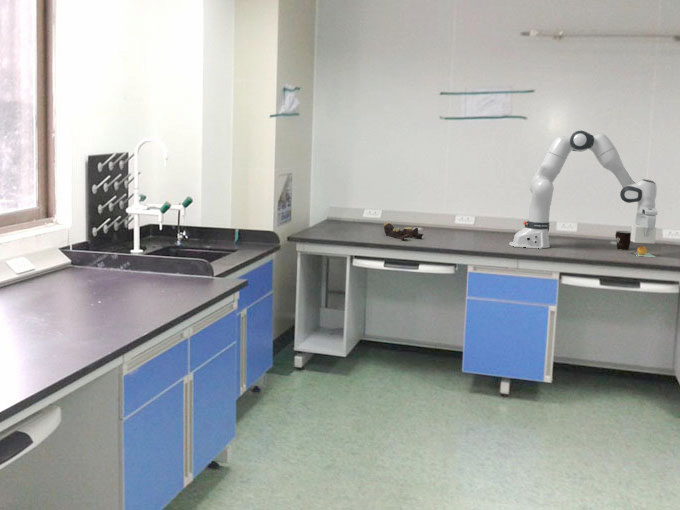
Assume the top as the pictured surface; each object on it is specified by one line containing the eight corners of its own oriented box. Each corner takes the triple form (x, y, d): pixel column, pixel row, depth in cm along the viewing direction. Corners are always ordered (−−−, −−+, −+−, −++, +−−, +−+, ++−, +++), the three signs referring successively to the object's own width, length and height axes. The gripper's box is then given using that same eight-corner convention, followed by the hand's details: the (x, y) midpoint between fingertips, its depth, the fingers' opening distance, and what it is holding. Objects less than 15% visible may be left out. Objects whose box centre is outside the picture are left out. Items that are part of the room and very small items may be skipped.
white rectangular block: (634, 242, 427) (636, 226, 425) (630, 240, 434) (631, 225, 432) (654, 243, 427) (656, 227, 425) (650, 241, 433) (651, 225, 432)
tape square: (637, 256, 426) (637, 256, 426) (631, 253, 436) (631, 252, 436) (655, 257, 426) (655, 256, 426) (649, 253, 436) (649, 253, 436)
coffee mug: (631, 250, 445) (633, 233, 443) (615, 249, 446) (617, 232, 445) (628, 247, 456) (630, 230, 454) (613, 246, 458) (614, 229, 456)
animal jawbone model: (402, 238, 483) (406, 222, 482) (425, 247, 462) (429, 230, 461) (378, 234, 474) (382, 217, 473) (401, 243, 453) (405, 226, 452)
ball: (650, 249, 428) (645, 257, 429) (646, 248, 433) (641, 255, 434) (642, 245, 428) (637, 253, 429) (639, 243, 433) (634, 251, 434)
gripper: (633, 207, 437) (631, 232, 440) (646, 211, 417) (644, 237, 420) (645, 207, 437) (642, 232, 440) (658, 212, 417) (656, 238, 419)
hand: (643, 235), depth 429 cm, fingers closed on white rectangular block, 7 cm apart
